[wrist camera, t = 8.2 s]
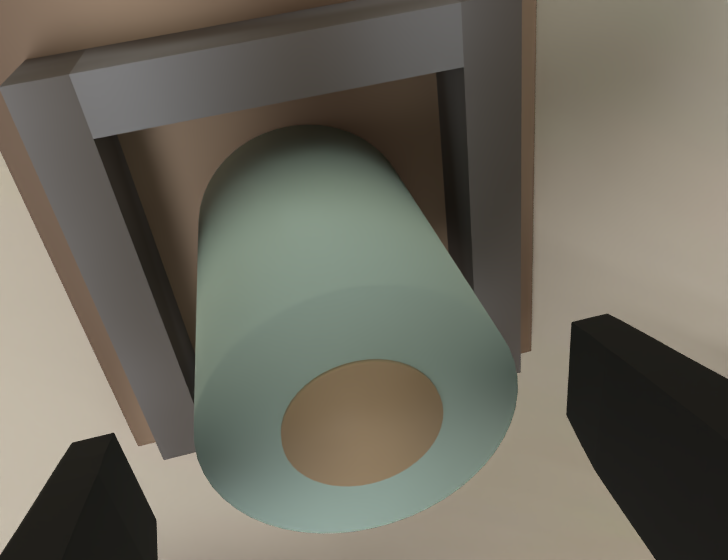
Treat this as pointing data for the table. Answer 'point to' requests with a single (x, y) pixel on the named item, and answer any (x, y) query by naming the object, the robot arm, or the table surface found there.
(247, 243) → the roll
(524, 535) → the table surface
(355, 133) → the holder
